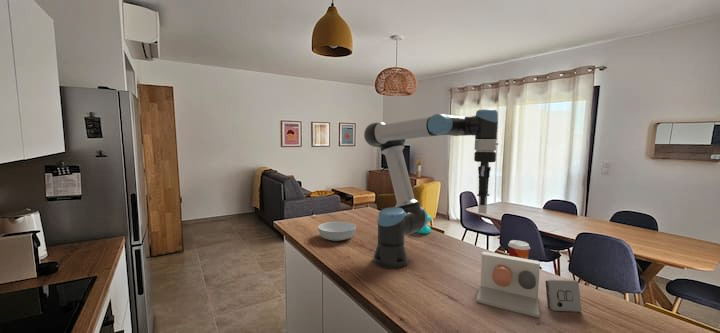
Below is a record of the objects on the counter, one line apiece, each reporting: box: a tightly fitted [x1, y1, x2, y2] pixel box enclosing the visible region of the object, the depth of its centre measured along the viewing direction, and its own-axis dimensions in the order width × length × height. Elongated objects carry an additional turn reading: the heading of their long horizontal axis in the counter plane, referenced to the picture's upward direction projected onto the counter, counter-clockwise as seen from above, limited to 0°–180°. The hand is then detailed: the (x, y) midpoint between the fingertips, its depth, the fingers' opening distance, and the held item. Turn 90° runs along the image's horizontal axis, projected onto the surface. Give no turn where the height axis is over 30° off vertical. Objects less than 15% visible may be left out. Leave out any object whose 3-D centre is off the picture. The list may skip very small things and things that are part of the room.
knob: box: [492, 265, 512, 287], centre depth 107 cm, size 6×13×6 cm, turn 151°
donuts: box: [416, 214, 432, 234], centre depth 177 cm, size 10×10×10 cm
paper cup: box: [507, 239, 531, 269], centre depth 118 cm, size 8×8×14 cm
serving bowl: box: [317, 221, 357, 242], centre depth 163 cm, size 21×21×7 cm
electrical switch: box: [545, 279, 582, 313], centre depth 97 cm, size 9×5×9 cm, turn 86°
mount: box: [475, 251, 541, 319], centre depth 101 cm, size 18×14×13 cm
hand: (482, 212), depth 114 cm, fingers closed
